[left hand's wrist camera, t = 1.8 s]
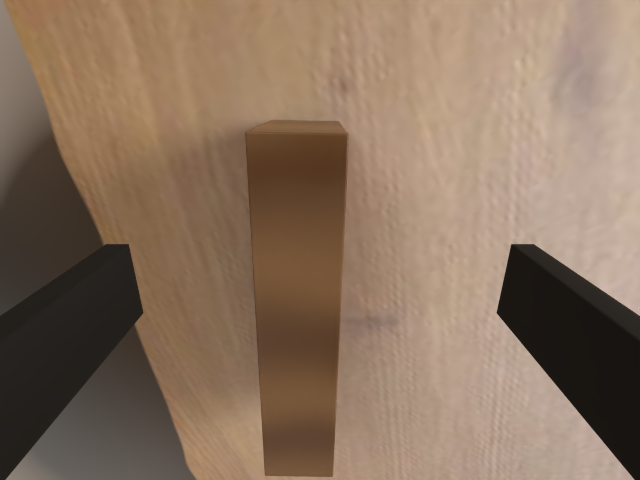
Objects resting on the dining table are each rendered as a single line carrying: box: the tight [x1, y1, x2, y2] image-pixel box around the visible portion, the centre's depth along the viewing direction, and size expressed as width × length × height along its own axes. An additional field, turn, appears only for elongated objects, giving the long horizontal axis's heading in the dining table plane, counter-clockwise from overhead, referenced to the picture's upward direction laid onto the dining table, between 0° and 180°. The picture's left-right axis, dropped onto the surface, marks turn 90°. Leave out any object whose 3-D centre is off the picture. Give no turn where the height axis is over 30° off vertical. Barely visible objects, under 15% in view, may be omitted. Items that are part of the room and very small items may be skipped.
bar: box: [245, 120, 349, 477], centre depth 25 cm, size 23×5×9 cm, turn 179°
